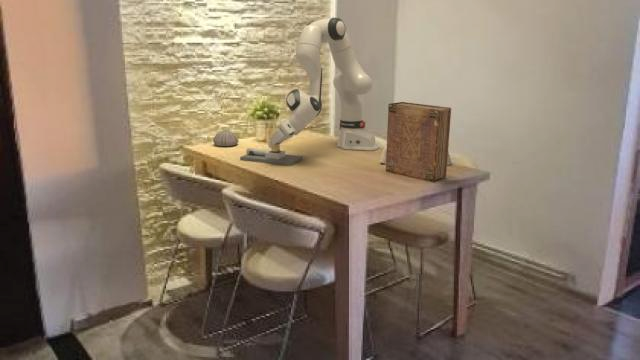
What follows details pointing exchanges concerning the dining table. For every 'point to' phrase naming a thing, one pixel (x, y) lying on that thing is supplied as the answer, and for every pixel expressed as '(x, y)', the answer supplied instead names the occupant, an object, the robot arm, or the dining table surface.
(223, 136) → the sea urchin shell
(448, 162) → the flask
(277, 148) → the brass valve
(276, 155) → the pipe board
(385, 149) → the faucet
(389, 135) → the book
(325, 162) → the dining table surface
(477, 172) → the dining table surface
